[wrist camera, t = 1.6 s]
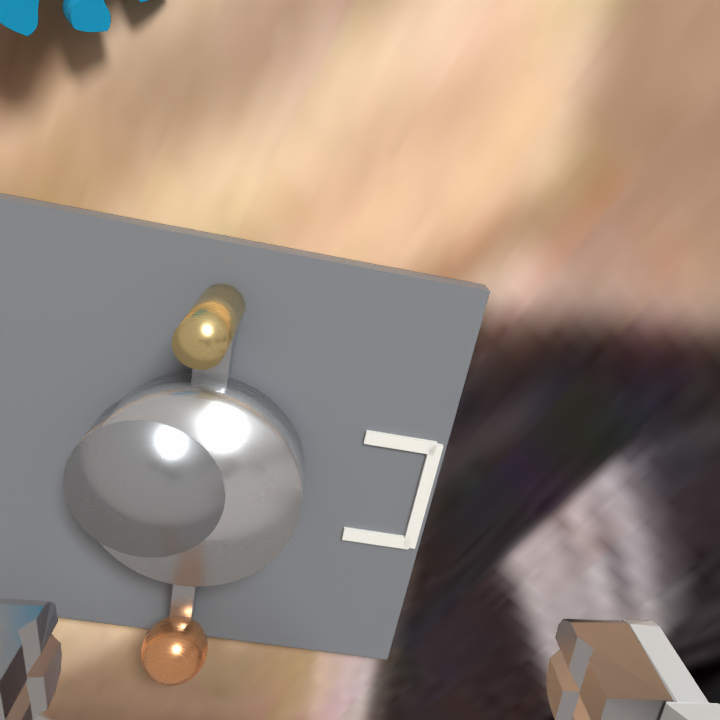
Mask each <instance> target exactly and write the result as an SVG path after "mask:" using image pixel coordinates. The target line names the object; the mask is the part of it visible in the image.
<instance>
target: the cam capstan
mask: <svg viewBox="0 0 720 720" xmlns="http://www.w3.org/2000/svg"><path fill="white" fill-rule="evenodd" d="M244 313H245V300H244V298H243V296H242V294H241V293H240V292H239V291H238V290H237V289H236V288H235V287H233V286H231V285H228V284H223V283H219V284H214V285H212V286H210V287H208V288H207V289H206V290H205V291H204V292H203V294H202V295H201V296H200V298H199V299H198V300H197V302H196V303H195V304H194V306H193V307H192V309H191V310H190V311H189V313H188V314H187V315H186V317H185V318H184V319H183V321H182V322H181V323H180V325H179V326H178V327H177V329H176V330H175V332H174V334H173V337H172V348H173V351H174V354H175V356H176V357H177V358H178V360H179V361H180V362H181V363H183V364H184V365H186V366H187V367H189V368H192V369H193V370H192V372H182V373H174V374H169V375H166V376H162V377H158V378H156V379H153V380H151V381H148V382H146V383H144V384H143V385H141V386H139V387H137V388H136V389H134V390H133V391H132V392H130V393H129V394H128V395H126V396H125V397H124V398H123V399H122V400H120V401H118V402H117V403H115V404H113V405H112V406H110V407H109V408H108V409H106V410H105V411H104V412H103V413H102V414H101V415H100V416H99V418H98V419H97V420H96V421H95V423H94V424H93V425H92V427H91V428H90V429H89V430H88V432H87V433H86V434H85V435H84V437H83V438H82V439H81V441H80V442H79V443H78V444H77V446H76V447H75V448H74V450H73V451H72V453H71V454H70V456H69V458H68V460H67V463H66V466H65V469H64V475H63V490H64V495H65V500H66V502H67V505H68V508H69V510H70V511H71V513H72V515H73V517H74V518H75V520H76V521H77V522H78V524H79V525H80V526H81V527H82V528H83V529H84V530H85V531H86V532H87V533H88V534H89V535H90V536H91V537H93V538H94V539H96V540H97V541H98V542H99V543H100V544H101V545H102V546H103V547H104V548H105V549H106V550H107V551H108V552H109V553H110V554H111V555H112V556H113V557H115V558H116V559H117V560H118V561H120V562H121V563H123V564H124V565H126V566H127V567H129V568H130V569H132V570H134V571H136V572H138V573H140V574H142V575H144V576H147V577H149V578H152V579H155V580H158V581H161V582H165V583H169V584H173V589H172V598H171V607H170V616H169V617H166V618H164V619H162V620H160V621H158V622H157V623H156V624H155V625H154V626H153V627H152V628H151V629H150V630H149V631H148V633H147V634H146V636H145V638H144V641H143V644H142V648H141V661H142V665H143V668H144V670H145V672H146V673H147V675H148V676H149V677H150V678H151V679H152V680H154V681H155V682H157V683H159V684H162V685H168V686H174V685H179V684H182V683H185V682H187V681H188V680H190V679H191V678H193V677H194V676H195V675H196V674H197V673H198V672H199V670H200V669H201V667H202V666H203V664H204V662H205V659H206V656H207V651H208V642H207V637H206V634H205V632H204V630H203V628H202V627H201V625H200V624H199V623H198V622H197V621H195V620H194V612H195V604H196V597H197V589H198V587H201V586H214V585H222V584H226V583H230V582H234V581H237V580H240V579H242V578H245V577H247V576H249V575H251V574H253V573H255V572H257V571H259V570H261V569H262V568H264V567H265V566H267V565H268V564H269V563H270V562H271V561H273V560H274V559H275V558H276V557H277V556H278V555H279V554H280V553H281V552H282V550H283V549H284V548H285V547H286V546H287V544H288V542H289V541H290V539H291V538H292V536H293V534H294V531H295V529H296V527H297V524H298V520H299V517H300V512H301V503H302V493H303V483H304V473H305V461H304V454H303V448H302V445H301V442H300V439H299V436H298V434H297V432H296V430H295V428H294V426H293V424H292V423H291V421H290V420H289V418H288V417H287V416H286V414H285V413H284V412H283V411H282V410H281V409H280V407H279V406H278V405H277V404H276V403H275V402H273V401H272V400H271V399H270V398H269V397H267V396H266V395H265V394H263V393H262V392H260V391H259V390H257V389H256V388H254V387H252V386H250V385H248V384H246V383H244V382H242V381H239V380H237V379H234V378H231V370H232V362H233V355H234V347H235V340H236V333H237V328H238V326H239V324H240V322H241V319H242V317H243V315H244Z"/></svg>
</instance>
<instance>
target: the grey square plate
mask: <svg viewBox="0 0 720 720" xmlns="http://www.w3.org/2000/svg"><path fill="white" fill-rule="evenodd" d="M219 283H223V284H228V285H231V286H233V287H235V288H236V289H237V290H238V291H239V292H240V293H241V294H242V296H243V298H244V300H245V313H244V315H243V317H242V319H241V322H240V324H239V326H238V328H237V333H236V340H235V347H234V355H233V362H232V370H231V378H234V379H237V380H239V381H242V382H244V383H246V384H248V385H250V386H252V387H254V388H256V389H257V390H259V391H260V392H262V393H263V394H265V395H266V396H267V397H269V398H270V399H271V400H272V401H273V402H275V403H276V404H277V405H278V406H279V407H280V409H281V410H282V411H283V412H284V413H285V414H286V416H287V417H288V418H289V420H290V421H291V423H292V424H293V426H294V428H295V430H296V432H297V434H298V436H299V439H300V442H301V445H302V448H303V454H304V461H305V473H304V483H303V493H302V503H301V512H300V517H299V520H298V524H297V527H296V529H295V531H294V534H293V536H292V538H291V539H290V541H289V542H288V544H287V546H286V547H285V548H284V549H283V550H282V552H281V553H280V554H279V555H278V556H277V557H276V558H275V559H274V560H273V561H271V562H270V563H269V564H268V565H267V566H265V567H264V568H262V569H261V570H259V571H257V572H255V573H253V574H251V575H249V576H247V577H245V578H242V579H240V580H237V581H234V582H230V583H226V584H222V585H214V586H201V587H198V589H197V597H196V604H195V612H194V620H195V621H197V622H198V623H199V624H200V625H201V627H202V628H203V630H204V632H205V634H206V636H208V637H216V638H223V639H231V640H239V641H247V642H254V643H262V644H270V645H278V646H286V647H293V648H301V649H309V650H317V651H324V652H332V653H340V654H348V655H355V656H363V657H371V658H379V659H386V660H387V658H388V654H389V651H390V647H391V644H392V640H393V636H394V633H395V629H396V626H397V622H398V619H399V615H400V611H401V608H402V604H403V601H404V597H405V594H406V590H407V586H408V583H409V579H410V576H411V572H412V569H413V565H414V561H415V558H416V554H417V551H418V547H419V544H420V540H421V536H422V533H423V529H424V526H425V522H426V519H427V515H428V511H429V508H430V504H431V501H432V497H433V493H434V490H435V486H436V483H437V479H438V476H439V472H440V468H441V465H442V461H443V458H444V454H445V451H446V447H447V443H448V440H449V436H450V433H451V429H452V426H453V422H454V418H455V415H456V411H457V408H458V404H459V401H460V397H461V393H462V390H463V386H464V383H465V379H466V376H467V372H468V368H469V365H470V361H471V358H472V354H473V351H474V347H475V343H476V340H477V336H478V333H479V329H480V326H481V322H482V318H483V315H484V311H485V308H486V304H487V301H488V297H489V293H490V291H489V289H488V288H487V287H486V286H485V285H482V284H477V283H471V282H466V281H461V280H456V279H450V278H445V277H440V276H435V275H429V274H424V273H419V272H413V271H408V270H403V269H398V268H392V267H387V266H382V265H376V264H371V263H366V262H361V261H355V260H350V259H345V258H340V257H334V256H329V255H324V254H318V253H313V252H308V251H303V250H297V249H292V248H287V247H282V246H276V245H271V244H266V243H260V242H255V241H250V240H245V239H239V238H234V237H229V236H223V235H218V234H213V233H208V232H202V231H197V230H192V229H187V228H181V227H176V226H171V225H165V224H160V223H155V222H150V221H144V220H139V219H134V218H128V217H123V216H118V215H113V214H107V213H102V212H97V211H92V210H86V209H81V208H76V207H70V206H65V205H60V204H55V203H49V202H44V201H39V200H34V199H28V198H23V197H18V196H12V195H7V194H2V193H0V598H6V599H23V600H40V601H51V602H52V603H54V604H55V605H56V611H57V617H60V618H68V619H76V620H84V621H91V622H99V623H107V624H115V625H122V626H130V627H138V628H146V629H151V628H152V627H153V626H154V625H155V624H156V623H157V622H158V621H160V620H162V619H164V618H166V617H169V616H170V607H171V598H172V589H173V584H169V583H165V582H161V581H158V580H155V579H152V578H149V577H147V576H144V575H142V574H140V573H138V572H136V571H134V570H132V569H130V568H129V567H127V566H126V565H124V564H123V563H121V562H120V561H118V560H117V559H116V558H115V557H113V556H112V555H111V554H110V553H109V552H108V551H107V550H106V549H105V548H104V547H103V546H102V545H101V544H100V543H99V542H98V541H97V540H96V539H94V538H93V537H91V536H90V535H89V534H88V533H87V532H86V531H85V530H84V529H83V528H82V527H81V526H80V525H79V524H78V522H77V521H76V520H75V518H74V517H73V515H72V513H71V511H70V510H69V508H68V505H67V502H66V500H65V495H64V490H63V475H64V469H65V466H66V463H67V460H68V458H69V456H70V454H71V453H72V451H73V450H74V448H75V447H76V446H77V444H78V443H79V442H80V441H81V439H82V438H83V437H84V435H85V434H86V433H87V432H88V430H89V429H90V428H91V427H92V425H93V424H94V423H95V421H96V420H97V419H98V418H99V416H100V415H101V414H102V413H103V412H104V411H105V410H106V409H108V408H109V407H110V406H112V405H113V404H115V403H117V402H118V401H120V400H122V399H123V398H124V397H125V396H126V395H128V394H129V393H130V392H132V391H133V390H134V389H136V388H137V387H139V386H141V385H143V384H144V383H146V382H148V381H151V380H153V379H156V378H158V377H162V376H166V375H169V374H174V373H182V372H192V370H193V369H192V368H189V367H187V366H186V365H184V364H183V363H181V362H180V361H179V360H178V358H177V357H176V356H175V354H174V351H173V348H172V337H173V334H174V332H175V330H176V329H177V327H178V326H179V325H180V323H181V322H182V321H183V319H184V318H185V317H186V315H187V314H188V313H189V311H190V310H191V309H192V307H193V306H194V304H195V303H196V302H197V300H198V299H199V298H200V296H201V295H202V294H203V292H204V291H205V290H206V289H207V288H208V287H210V286H212V285H214V284H219Z"/></svg>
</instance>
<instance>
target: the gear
mask: <svg viewBox="0 0 720 720" xmlns="http://www.w3.org/2000/svg"><path fill="white" fill-rule="evenodd" d="M139 1H140V2H144V1H148V0H139ZM38 4H39V0H0V23H1V24H3V25H4V26H6V27H8V28H10V29H11V30H13V31H15V32H18V33H20V34H23V35H25V36H28V35H30V34H32V33H33V31H34V30H35V29H36V27H37V24H38ZM63 12H64V15H65V17H66V19H67V20H68V21H69V22H70V24H71V25H72V26H73V27H74V29H77V30H80V31H85V32H102V31H108V29H109V27H110V23H111V16H110V12H109V10H108V8H107V6H106V4H105V2H104V0H64V1H63Z"/></svg>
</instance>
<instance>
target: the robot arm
mask: <svg viewBox="0 0 720 720" xmlns="http://www.w3.org/2000/svg"><path fill="white" fill-rule="evenodd" d="M57 622H58V618H57V611H56V605H55V604H54V603H52V602H51V601H40V600H23V599H6V598H0V720H33V719H34V718H36V717H37V716H38V715H40V714H41V713H42V712H44V711H45V710H46V709H47V708H48V706H49V704H50V702H51V699H52V697H53V695H54V693H55V690H56V686H57V682H58V678H59V675H60V670H61V656H62V655H61V644H60V642H59V641H58V640H57V639H56V638H55V637H54V636H53V635H52V634H51V633H52V631H53V629H54V628H55V626H56V624H57ZM555 638H556V640H557V642H558V645H559V647H560V650H559V651H558V652H556V653H555V654H554V655H553V656H552V657H551V658H550V661H549V666H548V671H547V693H548V698H549V703H550V707H551V710H552V713H553V715H554V718H555V720H720V704H718V703H709V702H708V701H707V699H706V698H705V696H704V694H703V693H702V691H701V690H700V688H699V687H698V685H697V684H696V682H695V681H694V679H693V678H692V676H691V674H690V673H689V671H688V670H687V668H686V667H685V665H684V664H683V662H682V661H681V659H680V657H679V656H678V654H677V653H676V651H675V650H674V648H673V647H672V645H671V644H670V642H669V641H668V639H667V637H666V636H665V634H664V633H663V631H662V630H661V628H660V627H659V625H657V624H656V623H655V622H653V621H651V620H622V621H619V620H591V619H563V620H562V621H561V622H560V624H559V625H558V629H557V633H556V636H555Z"/></svg>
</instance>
